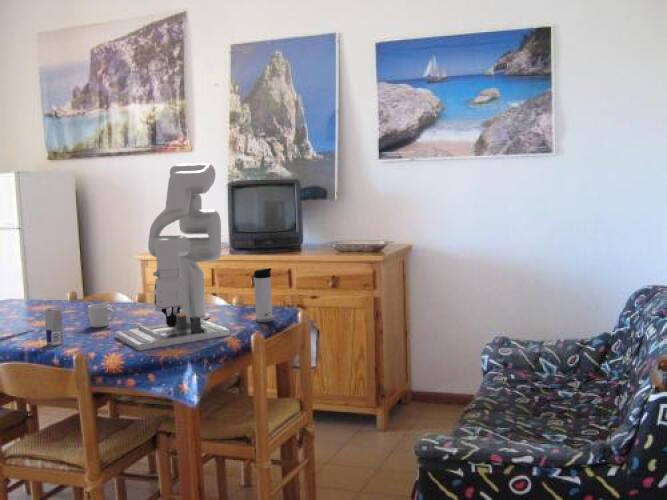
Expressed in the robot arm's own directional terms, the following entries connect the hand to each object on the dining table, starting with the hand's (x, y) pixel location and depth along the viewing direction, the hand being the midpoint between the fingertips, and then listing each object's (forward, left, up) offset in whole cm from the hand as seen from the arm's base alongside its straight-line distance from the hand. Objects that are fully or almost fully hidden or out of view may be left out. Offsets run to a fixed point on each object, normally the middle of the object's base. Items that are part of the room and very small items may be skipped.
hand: (171, 326), depth 235 cm
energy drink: (-16, -35, -4) cm, 39 cm away
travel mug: (-1, +37, -4) cm, 37 cm away
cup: (-34, -14, -4) cm, 37 cm away
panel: (0, 0, -4) cm, 4 cm away
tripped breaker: (0, +4, -1) cm, 4 cm away
